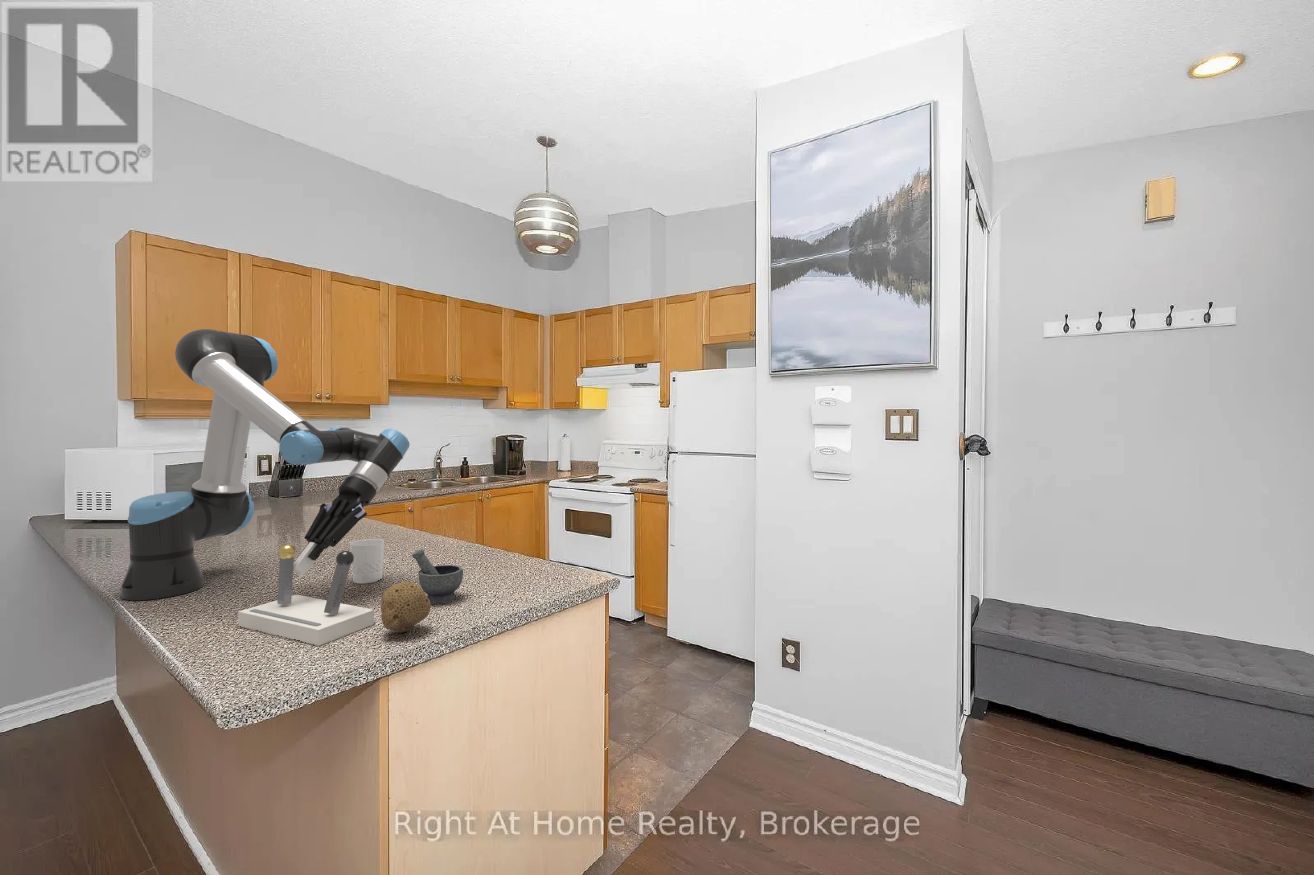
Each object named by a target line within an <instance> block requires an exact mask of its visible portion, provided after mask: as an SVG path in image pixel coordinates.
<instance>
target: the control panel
mask: <svg viewBox="0 0 1314 875" xmlns="http://www.w3.org/2000/svg"><path fill="white" fill-rule="evenodd" d="M277 601H278V599H276V600H274V601H269V602H267V603H262V604H259V605H256V606H253V607H249V608H245V609H242V610H239V611H238V614H237V615H238V627H240V626H241V628H244V627H245V629H249V630H252V631H256V630H258V631H257V632H260V631H262V632H261V633H264V632H265V634H268V635H274V636H277V635H279V636H278V637H281V636H282V637H281V638H285V637H287V638H286V639H289V638H290V639H289V640H293V639H296V640H295V641H297V640H300V641H299V642H301V641H303V642H302V643H305V642H306V643H305V644H308V645H309V644H310V645H313V644H314V645H313V646H318V647H319V646H323V645H325V644H327V643H330V642H332V641H335V640H338V639H340V638H342V637H343V638H344V637H346V636H348V635H350V634H353V633H355V632H357V631H360V630H363V629H365V628H367V627H370V626H373V625H375V609H372V608H368V607H367V608H366V607H362V606H356V605H352V604H345V603H342V602H341V603H340V607H339V611H338V614H329V613H325V612H324V610H325V606H326V602H327V599H321V598H316V597H310V596H306V595H301V594H294V595H293V594H292V600H291V603H290V604H286V605H281V604H277Z"/></svg>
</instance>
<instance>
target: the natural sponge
mask: <svg viewBox="0 0 1314 875" xmlns="http://www.w3.org/2000/svg"><path fill="white" fill-rule="evenodd" d="M427 595H428V594H426V593H425V592H424V590H423V589H422V587H421V585H420V586H419V585H418V584H417V583H415V582H412V581H409V580H408V581H406V580H404V581H402V582H398V583H395V584H393V585H391V586H389V587H388V588H387V589H386V590H385V592H384V593H383V594H382V596H381V601H380V611H381V614H380V615H381V622H382V625H383V627H384V628H385V629H386V630H390V631H394V632H395V633H397V634H402V633H407V632H408V631H410V630H412V629H413V628H414V626H416V625H417V624H419V623H421V622H422V621H424V620H425V619H426V618H427V617H428V616H429V614H430V612H431V606H432V605H431V604H432V603H430V600H429V599H428V597H427Z"/></svg>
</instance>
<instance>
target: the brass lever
mask: <svg viewBox="0 0 1314 875" xmlns="http://www.w3.org/2000/svg"><path fill="white" fill-rule="evenodd" d="M296 554H297V548H296V546H294V545H293V544H290V543H289V544H288V543H287V544H284V545H282V546H280V547H279V549H278V550H277V555H278V558H279V569H278V583H277V584H278V586H277V587H278V588H277V600H278V601H277V604H281V605H286V604H290V603H291V600H292V596H293V582H294V581H293V578H294V577H293V576H294V571H293V564H294V562H295V556H296Z"/></svg>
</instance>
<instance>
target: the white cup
mask: <svg viewBox="0 0 1314 875" xmlns="http://www.w3.org/2000/svg"><path fill="white" fill-rule="evenodd" d="M384 547H385V540H384V539H380V538H368V539H359V540H354V541H352V542H350V543H349V548H350V550H349V551H350V552H351V553H352V554H353V555H354V561H353V562H352V564H351V565H350V567H351V572H352V582H353V583H355V584H362V585H363V584H370V583H371V584H372V583H376V582H379V581H381V580H382V579H383V568H384V553H385V548H384ZM380 579H381V580H380ZM378 580H379V581H378Z"/></svg>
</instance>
